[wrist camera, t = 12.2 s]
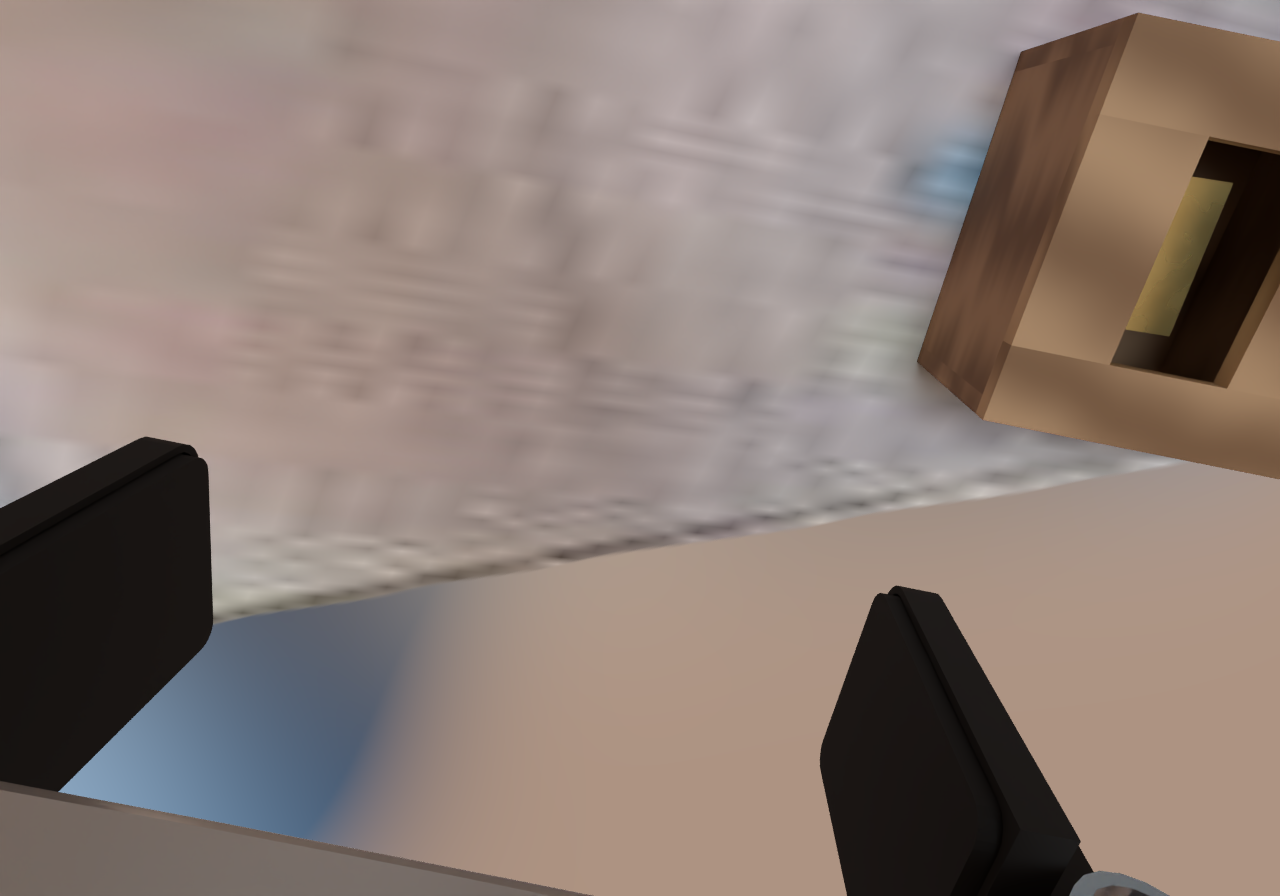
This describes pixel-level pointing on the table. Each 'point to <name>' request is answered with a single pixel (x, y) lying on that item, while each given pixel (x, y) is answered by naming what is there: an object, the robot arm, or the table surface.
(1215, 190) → the yellow rectangular block
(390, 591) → the table surface
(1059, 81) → the coin box
